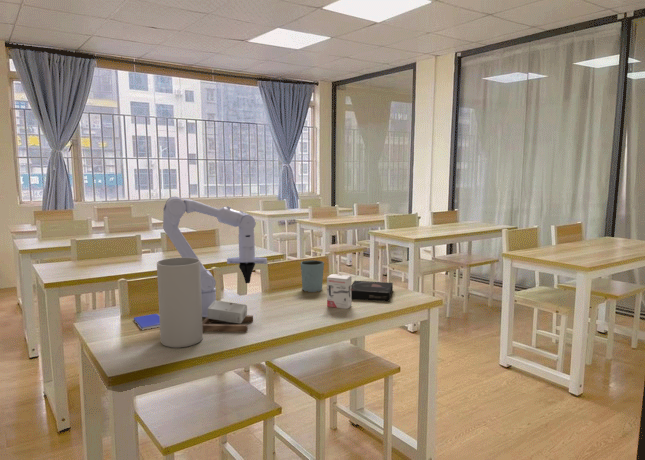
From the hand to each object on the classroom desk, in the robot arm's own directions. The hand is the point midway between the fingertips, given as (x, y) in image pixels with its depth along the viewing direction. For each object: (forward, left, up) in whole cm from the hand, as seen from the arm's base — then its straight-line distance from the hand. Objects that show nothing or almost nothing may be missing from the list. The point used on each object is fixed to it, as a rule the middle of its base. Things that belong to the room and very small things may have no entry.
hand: (247, 282), depth 178 cm
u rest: (-3, -18, -10) cm, 21 cm away
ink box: (+34, +6, -11) cm, 36 cm away
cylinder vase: (-14, -32, -11) cm, 37 cm away
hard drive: (-31, -16, -11) cm, 37 cm away
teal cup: (+22, +30, -11) cm, 39 cm away
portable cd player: (+47, +23, -11) cm, 53 cm away
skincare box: (+2, -16, -7) cm, 18 cm away
